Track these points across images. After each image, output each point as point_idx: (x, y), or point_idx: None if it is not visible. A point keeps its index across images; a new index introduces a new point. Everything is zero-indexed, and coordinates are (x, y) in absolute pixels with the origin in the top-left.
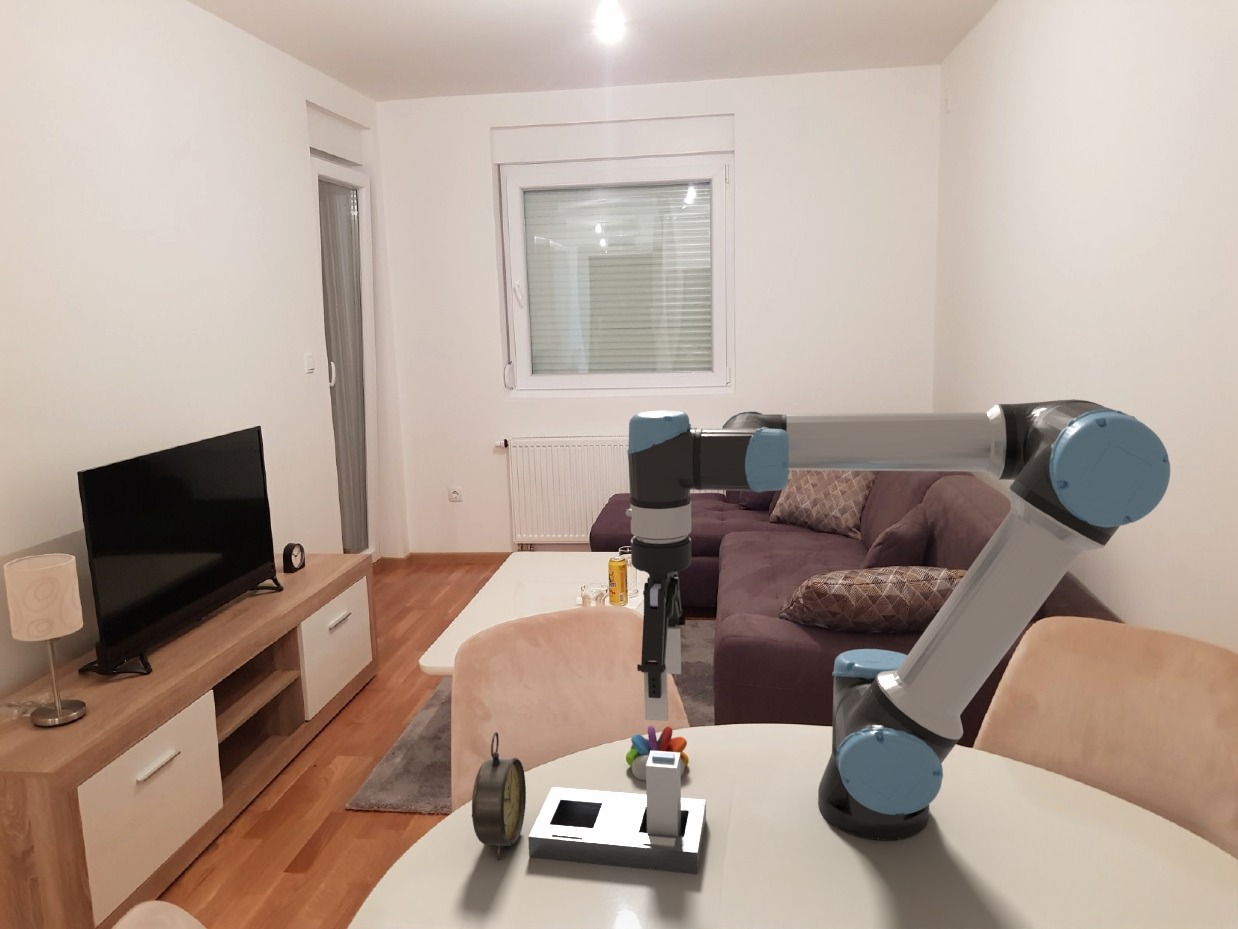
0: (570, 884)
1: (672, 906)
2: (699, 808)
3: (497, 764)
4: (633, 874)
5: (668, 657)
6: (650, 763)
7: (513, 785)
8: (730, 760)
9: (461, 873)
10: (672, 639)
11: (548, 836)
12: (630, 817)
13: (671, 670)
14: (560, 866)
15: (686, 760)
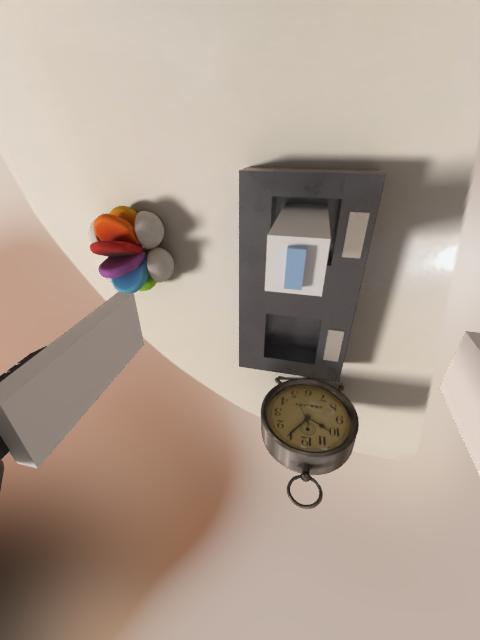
0: (379, 322)
1: (438, 201)
2: (264, 179)
3: (310, 466)
4: None
5: (109, 355)
6: (312, 289)
7: (288, 419)
8: (84, 139)
9: None
10: (56, 391)
11: (339, 363)
12: None
13: (133, 324)
14: None
15: (126, 209)
